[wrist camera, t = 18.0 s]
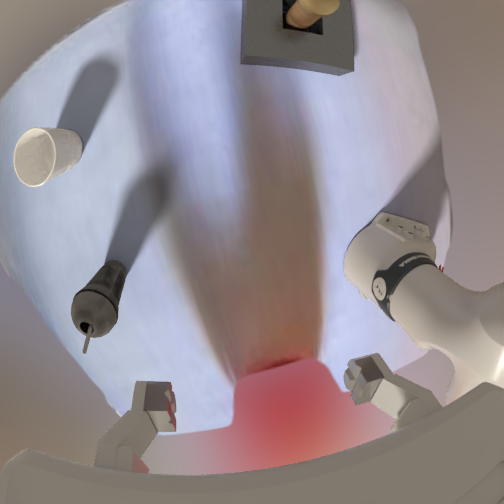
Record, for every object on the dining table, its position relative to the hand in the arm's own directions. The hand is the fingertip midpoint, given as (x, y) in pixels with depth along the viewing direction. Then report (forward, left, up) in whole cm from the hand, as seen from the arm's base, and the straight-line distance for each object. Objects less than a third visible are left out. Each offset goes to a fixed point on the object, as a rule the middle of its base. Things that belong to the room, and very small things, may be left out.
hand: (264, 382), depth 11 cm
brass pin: (-11, -29, -34) cm, 46 cm away
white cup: (+25, -10, -34) cm, 44 cm away
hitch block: (-11, -29, -34) cm, 46 cm away
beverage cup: (+19, +12, -34) cm, 41 cm away
